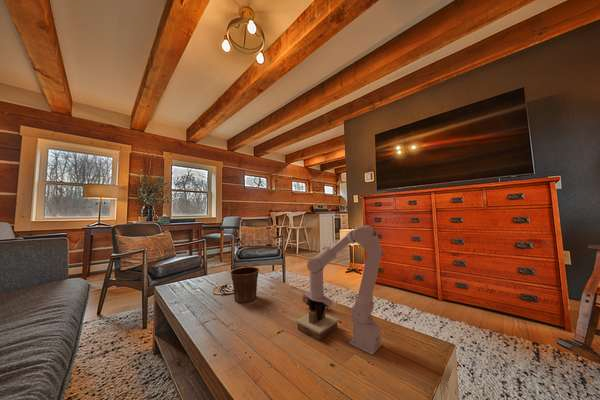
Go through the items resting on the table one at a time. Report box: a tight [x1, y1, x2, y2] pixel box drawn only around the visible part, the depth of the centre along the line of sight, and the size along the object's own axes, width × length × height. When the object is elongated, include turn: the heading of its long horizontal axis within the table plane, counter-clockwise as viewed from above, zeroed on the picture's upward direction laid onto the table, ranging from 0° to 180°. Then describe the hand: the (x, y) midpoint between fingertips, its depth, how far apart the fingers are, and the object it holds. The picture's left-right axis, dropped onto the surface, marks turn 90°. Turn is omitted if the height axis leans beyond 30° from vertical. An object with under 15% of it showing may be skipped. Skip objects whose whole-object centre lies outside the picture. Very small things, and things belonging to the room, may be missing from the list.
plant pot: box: [230, 266, 260, 304], centre depth 123 cm, size 16×16×16 cm
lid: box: [295, 309, 340, 334], centre depth 90 cm, size 13×13×5 cm
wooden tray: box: [297, 322, 339, 342], centre depth 90 cm, size 12×12×3 cm
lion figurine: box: [302, 296, 330, 312], centre depth 108 cm, size 15×5×9 cm, turn 108°
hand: (317, 318), depth 90 cm, fingers closed on lid, 2 cm apart
